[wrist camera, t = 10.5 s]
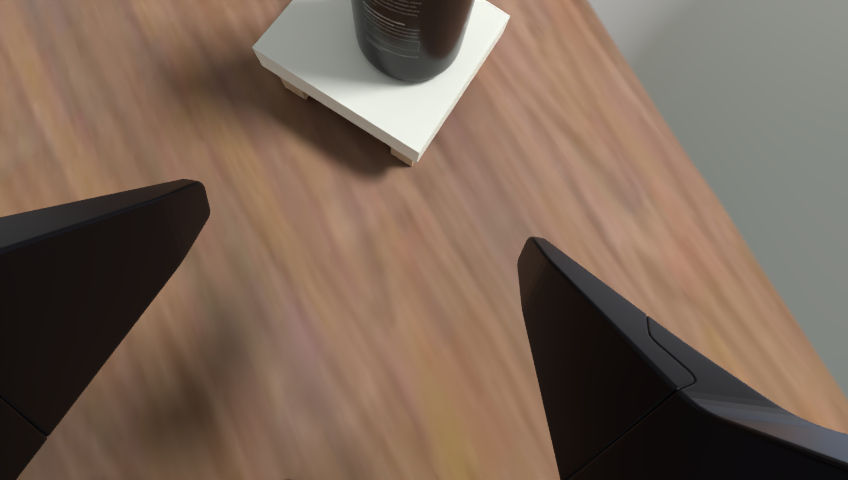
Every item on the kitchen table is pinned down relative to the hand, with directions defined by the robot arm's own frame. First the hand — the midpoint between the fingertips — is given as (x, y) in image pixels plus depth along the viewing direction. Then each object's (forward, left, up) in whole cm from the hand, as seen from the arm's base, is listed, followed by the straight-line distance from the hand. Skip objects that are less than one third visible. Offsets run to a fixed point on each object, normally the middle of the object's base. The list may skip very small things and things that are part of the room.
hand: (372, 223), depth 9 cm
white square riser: (+13, +7, -14) cm, 20 cm away
